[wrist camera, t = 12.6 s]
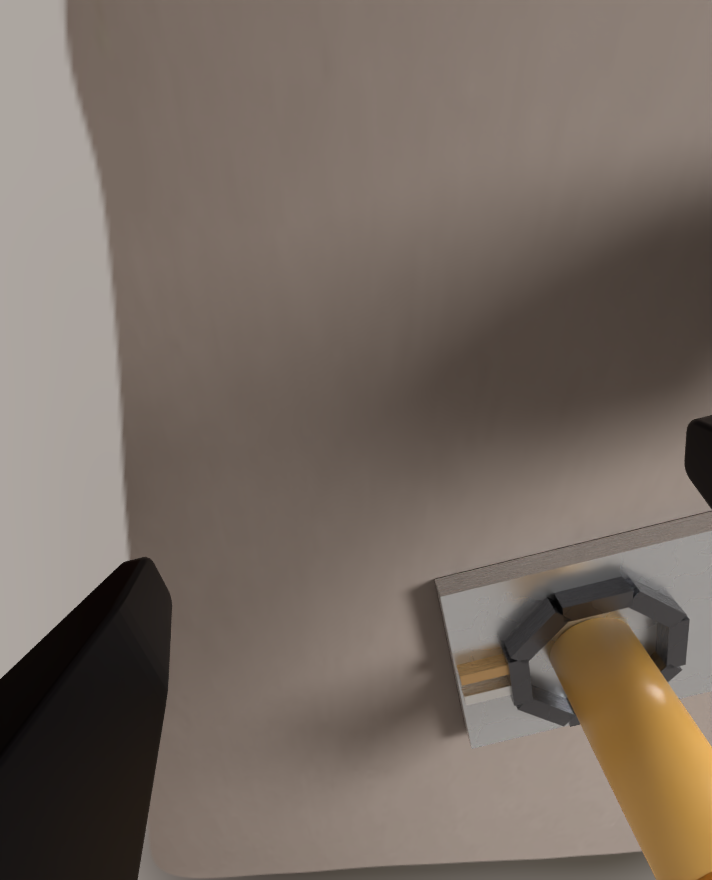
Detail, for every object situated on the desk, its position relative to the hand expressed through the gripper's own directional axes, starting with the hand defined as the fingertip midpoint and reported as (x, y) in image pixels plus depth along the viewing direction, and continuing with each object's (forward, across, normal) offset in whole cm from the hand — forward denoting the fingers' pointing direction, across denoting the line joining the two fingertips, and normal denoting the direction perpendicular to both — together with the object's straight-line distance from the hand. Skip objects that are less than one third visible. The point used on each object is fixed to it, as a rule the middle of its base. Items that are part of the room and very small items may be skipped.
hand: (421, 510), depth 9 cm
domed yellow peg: (+12, -8, +20) cm, 25 cm away
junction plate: (+13, -8, +20) cm, 25 cm away
